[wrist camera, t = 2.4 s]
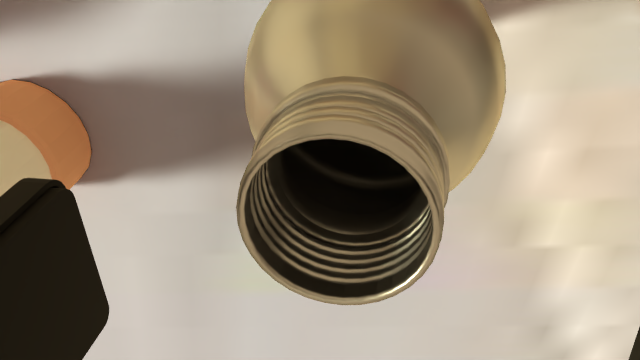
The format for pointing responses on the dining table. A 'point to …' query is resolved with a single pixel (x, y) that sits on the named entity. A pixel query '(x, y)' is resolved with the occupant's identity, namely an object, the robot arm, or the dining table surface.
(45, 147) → the pepper shaker
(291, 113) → the plastic bottle
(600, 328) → the dining table surface
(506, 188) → the dining table surface
